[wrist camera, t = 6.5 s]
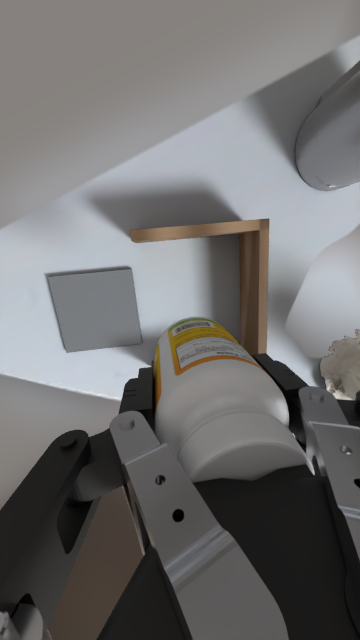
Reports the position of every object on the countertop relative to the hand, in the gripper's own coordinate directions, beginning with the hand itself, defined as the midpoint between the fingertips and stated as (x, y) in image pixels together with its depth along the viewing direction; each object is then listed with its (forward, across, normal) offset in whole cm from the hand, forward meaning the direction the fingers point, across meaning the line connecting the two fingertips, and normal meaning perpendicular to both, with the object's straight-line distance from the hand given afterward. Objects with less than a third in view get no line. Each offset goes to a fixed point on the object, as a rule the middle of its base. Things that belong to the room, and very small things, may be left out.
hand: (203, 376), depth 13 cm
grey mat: (+19, +10, 0) cm, 22 cm away
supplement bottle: (+3, 0, 0) cm, 3 cm away
